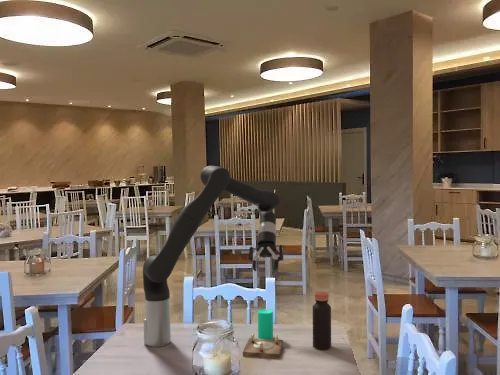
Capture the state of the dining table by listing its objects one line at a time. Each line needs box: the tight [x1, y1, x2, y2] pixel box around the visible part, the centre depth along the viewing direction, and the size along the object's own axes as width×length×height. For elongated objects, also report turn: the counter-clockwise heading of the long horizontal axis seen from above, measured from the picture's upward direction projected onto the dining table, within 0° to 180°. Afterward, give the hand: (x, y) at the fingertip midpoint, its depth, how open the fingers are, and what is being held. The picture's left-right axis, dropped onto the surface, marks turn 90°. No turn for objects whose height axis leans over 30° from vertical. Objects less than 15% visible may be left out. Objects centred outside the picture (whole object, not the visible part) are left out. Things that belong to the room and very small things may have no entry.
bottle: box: [312, 291, 332, 351], centre depth 166 cm, size 7×7×20 cm
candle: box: [257, 308, 274, 340], centre depth 176 cm, size 6×6×12 cm
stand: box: [242, 337, 284, 359], centre depth 165 cm, size 13×13×2 cm
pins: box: [250, 333, 279, 352], centre depth 163 cm, size 10×9×3 cm
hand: (265, 270), depth 181 cm, fingers open, 8 cm apart
